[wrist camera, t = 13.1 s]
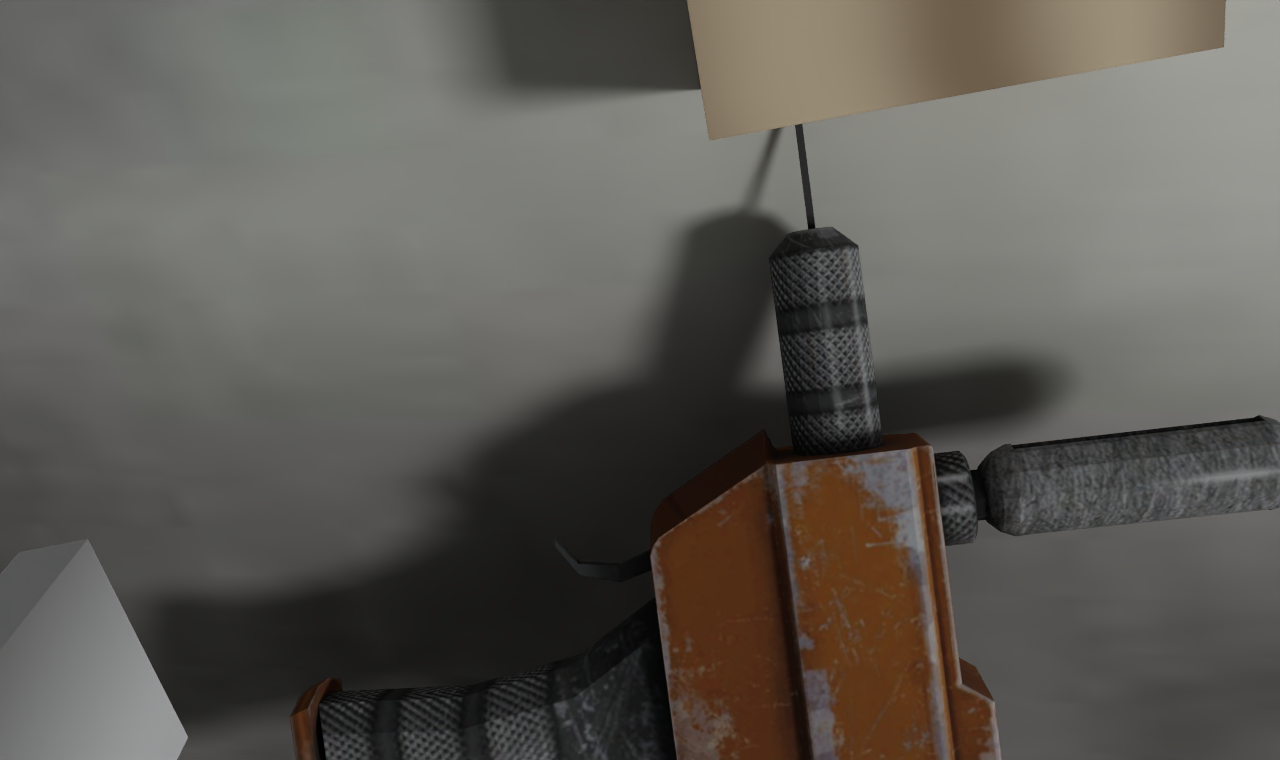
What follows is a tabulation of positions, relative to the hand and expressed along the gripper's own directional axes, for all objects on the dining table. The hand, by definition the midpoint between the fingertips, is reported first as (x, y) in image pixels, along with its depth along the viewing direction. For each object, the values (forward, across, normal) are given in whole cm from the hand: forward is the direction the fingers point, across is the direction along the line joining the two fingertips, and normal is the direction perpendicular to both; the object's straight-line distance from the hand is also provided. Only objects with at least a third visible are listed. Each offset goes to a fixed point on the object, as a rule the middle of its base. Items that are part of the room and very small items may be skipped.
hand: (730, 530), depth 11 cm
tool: (+20, 0, -13) cm, 24 cm away
